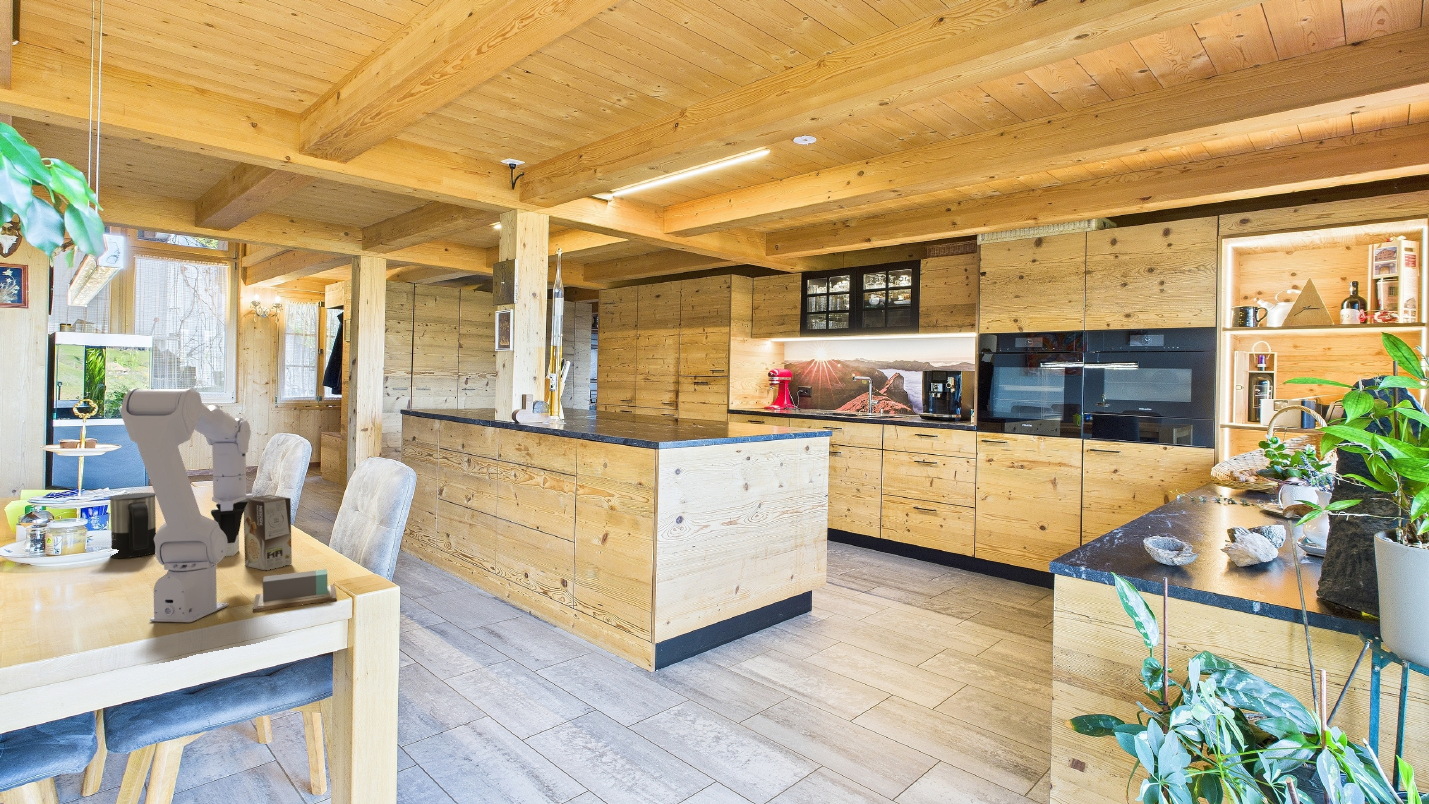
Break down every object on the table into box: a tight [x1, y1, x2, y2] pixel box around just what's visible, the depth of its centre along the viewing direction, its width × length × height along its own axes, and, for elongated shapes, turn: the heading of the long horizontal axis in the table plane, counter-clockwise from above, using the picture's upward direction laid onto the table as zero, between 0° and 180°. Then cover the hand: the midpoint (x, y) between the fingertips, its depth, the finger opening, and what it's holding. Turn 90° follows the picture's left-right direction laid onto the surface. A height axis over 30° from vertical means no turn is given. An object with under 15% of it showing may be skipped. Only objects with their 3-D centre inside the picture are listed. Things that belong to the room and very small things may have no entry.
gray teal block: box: [262, 568, 328, 602], centre depth 140 cm, size 11×4×4 cm, turn 121°
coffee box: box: [243, 494, 293, 571], centre depth 164 cm, size 9×6×16 cm
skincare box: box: [213, 506, 240, 558], centre depth 173 cm, size 6×4×12 cm
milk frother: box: [108, 492, 157, 559], centre depth 174 cm, size 14×16×15 cm
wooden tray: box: [252, 584, 337, 613], centre depth 140 cm, size 14×10×1 cm
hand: (230, 539), depth 146 cm, fingers open, 7 cm apart
